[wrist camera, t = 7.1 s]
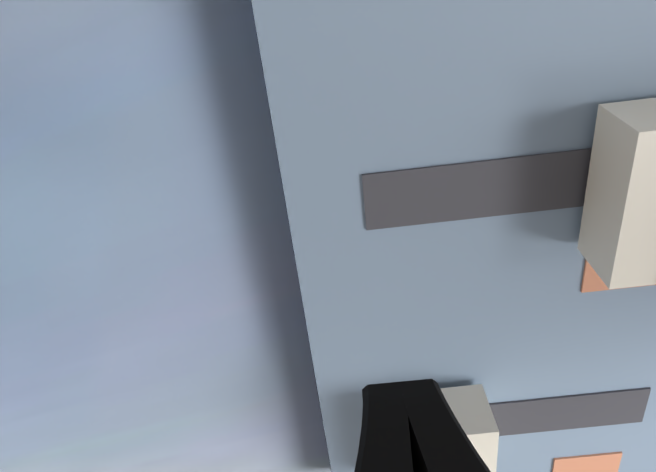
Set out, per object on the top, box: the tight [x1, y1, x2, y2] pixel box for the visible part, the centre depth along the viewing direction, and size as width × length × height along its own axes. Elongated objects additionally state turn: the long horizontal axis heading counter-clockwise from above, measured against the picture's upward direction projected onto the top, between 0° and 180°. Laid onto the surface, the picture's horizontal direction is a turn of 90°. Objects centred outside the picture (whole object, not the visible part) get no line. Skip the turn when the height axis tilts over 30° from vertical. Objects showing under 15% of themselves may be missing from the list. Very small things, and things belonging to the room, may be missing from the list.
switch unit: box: [251, 0, 656, 472], centre depth 19 cm, size 15×30×2 cm, turn 6°
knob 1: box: [440, 384, 499, 472], centre depth 22 cm, size 4×5×2 cm
